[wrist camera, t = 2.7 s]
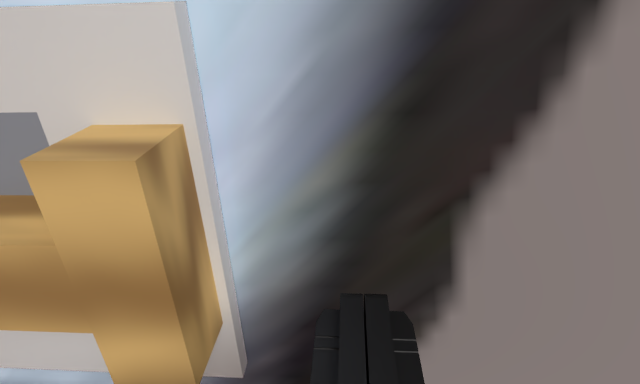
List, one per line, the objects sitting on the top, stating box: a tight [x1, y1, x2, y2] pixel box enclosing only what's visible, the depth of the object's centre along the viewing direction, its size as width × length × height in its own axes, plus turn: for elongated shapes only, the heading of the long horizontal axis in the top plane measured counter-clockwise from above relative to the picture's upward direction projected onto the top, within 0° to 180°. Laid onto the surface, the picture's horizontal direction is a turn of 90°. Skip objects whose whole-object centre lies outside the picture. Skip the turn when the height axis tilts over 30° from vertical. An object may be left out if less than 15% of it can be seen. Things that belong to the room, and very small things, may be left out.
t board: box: [0, 1, 247, 378], centre depth 17 cm, size 18×18×1 cm
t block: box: [0, 124, 223, 384], centre depth 15 cm, size 10×9×4 cm
